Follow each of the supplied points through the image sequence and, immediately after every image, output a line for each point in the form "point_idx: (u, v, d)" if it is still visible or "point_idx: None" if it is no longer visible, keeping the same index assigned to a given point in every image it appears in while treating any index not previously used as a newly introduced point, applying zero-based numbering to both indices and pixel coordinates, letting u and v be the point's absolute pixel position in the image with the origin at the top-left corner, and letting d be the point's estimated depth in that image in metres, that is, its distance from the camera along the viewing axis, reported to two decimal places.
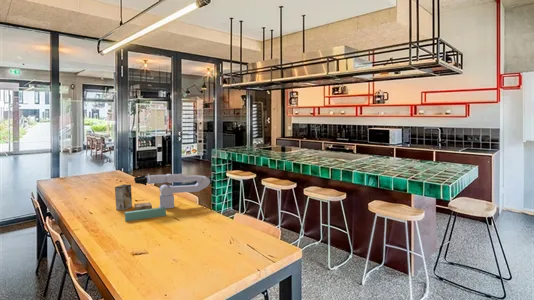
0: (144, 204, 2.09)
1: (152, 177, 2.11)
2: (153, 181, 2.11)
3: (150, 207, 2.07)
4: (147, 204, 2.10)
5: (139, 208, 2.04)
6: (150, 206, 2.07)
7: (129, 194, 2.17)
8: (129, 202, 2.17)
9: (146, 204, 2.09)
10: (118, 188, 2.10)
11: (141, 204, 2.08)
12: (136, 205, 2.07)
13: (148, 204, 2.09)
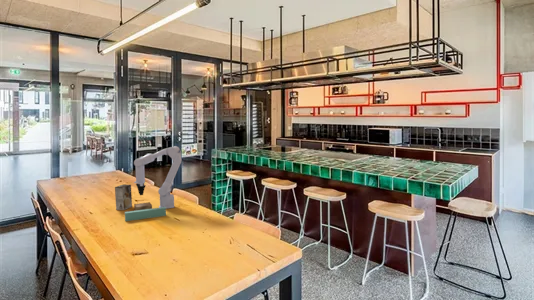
0: (144, 204, 2.09)
1: (138, 179, 2.14)
2: (142, 178, 2.15)
3: (150, 207, 2.07)
4: (147, 204, 2.10)
5: (139, 208, 2.04)
6: (150, 206, 2.07)
7: (129, 194, 2.17)
8: (129, 202, 2.17)
9: (146, 204, 2.09)
10: (118, 188, 2.10)
11: (141, 205, 2.08)
12: (136, 205, 2.07)
13: (148, 204, 2.09)
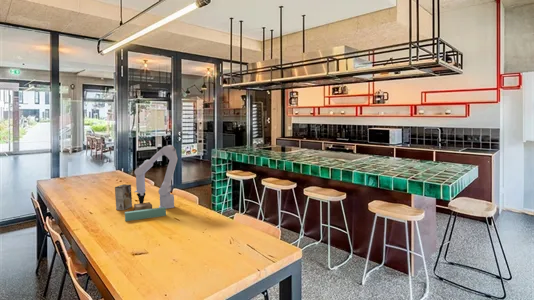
0: (144, 204, 2.09)
1: (138, 188, 2.14)
2: (142, 187, 2.15)
3: (150, 207, 2.08)
4: (147, 204, 2.10)
5: (139, 208, 2.04)
6: (150, 206, 2.08)
7: (129, 194, 2.17)
8: (129, 202, 2.17)
9: (146, 204, 2.09)
10: (118, 188, 2.10)
11: (141, 205, 2.08)
12: (136, 205, 2.06)
13: (148, 204, 2.09)
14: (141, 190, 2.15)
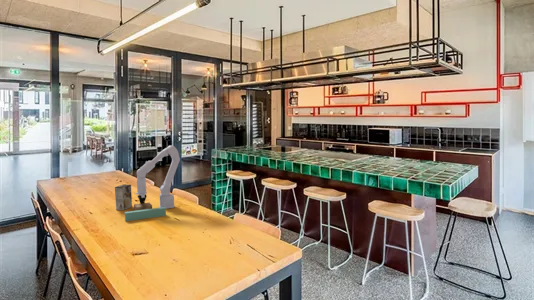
0: (144, 204, 2.08)
1: (139, 190, 2.09)
2: (143, 189, 2.10)
3: (150, 207, 2.07)
4: (147, 204, 2.09)
5: (139, 208, 2.03)
6: (150, 206, 2.07)
7: (129, 194, 2.17)
8: (129, 202, 2.17)
9: (146, 204, 2.08)
10: (118, 188, 2.10)
11: (141, 205, 2.07)
12: (136, 205, 2.06)
13: (148, 204, 2.08)
14: (142, 192, 2.09)
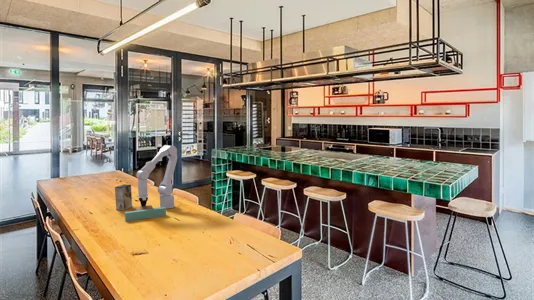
0: (145, 207, 2.02)
1: (140, 193, 2.02)
2: (144, 191, 2.03)
3: None
4: (148, 207, 2.02)
5: None
6: None
7: (129, 194, 2.17)
8: (129, 202, 2.17)
9: (147, 207, 2.02)
10: (118, 188, 2.10)
11: (142, 207, 2.01)
12: (137, 208, 2.00)
13: (149, 207, 2.02)
14: (143, 194, 2.03)
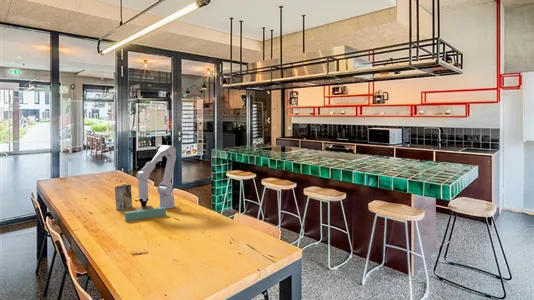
0: (145, 207, 2.01)
1: (140, 193, 2.01)
2: (145, 192, 2.02)
3: None
4: (149, 207, 2.02)
5: None
6: None
7: (129, 194, 2.17)
8: (129, 202, 2.17)
9: (148, 207, 2.01)
10: (118, 188, 2.10)
11: (142, 208, 2.00)
12: (137, 208, 1.99)
13: (150, 207, 2.01)
14: (144, 195, 2.01)
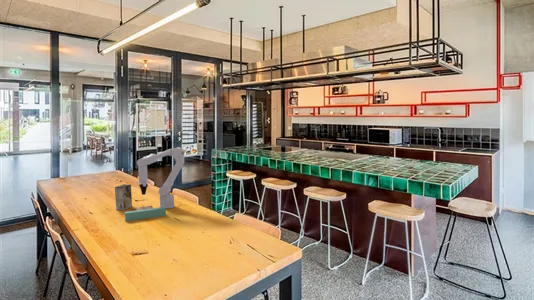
0: (145, 208, 2.01)
1: (140, 179, 2.13)
2: (145, 178, 2.14)
3: None
4: (149, 207, 2.02)
5: None
6: None
7: (129, 194, 2.17)
8: (129, 202, 2.17)
9: (148, 208, 2.01)
10: (118, 188, 2.10)
11: (142, 208, 2.00)
12: (137, 209, 1.99)
13: (150, 208, 2.01)
14: (143, 181, 2.14)
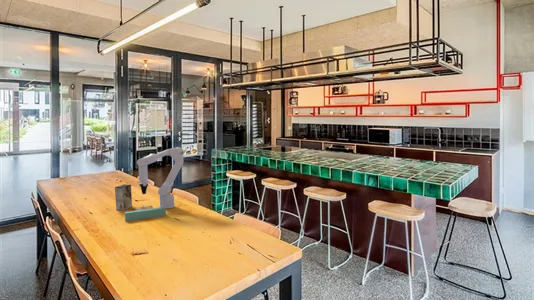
0: (145, 208, 2.01)
1: (141, 179, 2.15)
2: (145, 178, 2.16)
3: None
4: (149, 207, 2.02)
5: None
6: None
7: (129, 194, 2.17)
8: (129, 202, 2.17)
9: (148, 208, 2.01)
10: (118, 188, 2.10)
11: (142, 208, 2.00)
12: (137, 209, 1.99)
13: (150, 208, 2.01)
14: (144, 180, 2.15)
